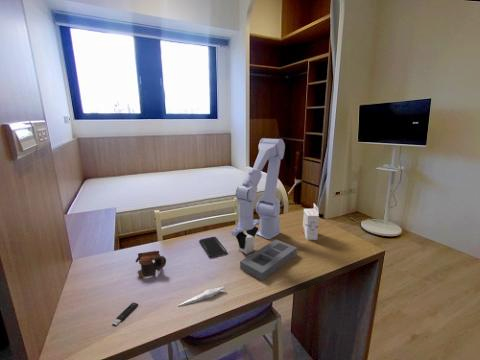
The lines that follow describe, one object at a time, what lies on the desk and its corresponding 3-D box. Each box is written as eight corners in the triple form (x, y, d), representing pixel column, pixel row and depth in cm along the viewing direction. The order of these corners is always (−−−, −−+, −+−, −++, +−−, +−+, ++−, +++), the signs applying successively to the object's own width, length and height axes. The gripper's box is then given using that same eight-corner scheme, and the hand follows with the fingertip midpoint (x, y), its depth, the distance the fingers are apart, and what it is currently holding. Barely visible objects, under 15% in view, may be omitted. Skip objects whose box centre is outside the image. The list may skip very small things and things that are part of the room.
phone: (215, 236, 111) (227, 252, 97) (215, 238, 111) (227, 254, 98) (198, 239, 107) (208, 256, 94) (198, 242, 108) (209, 259, 94)
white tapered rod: (223, 287, 78) (222, 282, 78) (226, 293, 76) (226, 288, 75) (176, 305, 72) (175, 300, 71) (178, 312, 70) (177, 306, 69)
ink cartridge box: (301, 231, 116) (303, 202, 112) (312, 231, 116) (314, 202, 112) (306, 240, 108) (308, 209, 104) (317, 240, 108) (320, 208, 104)
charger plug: (245, 246, 103) (245, 233, 102) (253, 249, 100) (253, 236, 99) (238, 250, 100) (238, 236, 99) (246, 254, 97) (246, 240, 96)
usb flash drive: (117, 327, 64) (116, 324, 64) (111, 325, 65) (111, 322, 64) (138, 306, 71) (138, 303, 71) (133, 304, 72) (132, 301, 72)
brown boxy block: (129, 279, 83) (129, 254, 86) (147, 275, 92) (147, 252, 94) (159, 275, 80) (158, 249, 83) (175, 271, 89) (174, 248, 91)
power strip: (275, 245, 103) (276, 239, 102) (296, 254, 96) (296, 247, 96) (240, 268, 88) (240, 261, 87) (261, 280, 81) (262, 272, 80)
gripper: (250, 207, 104) (250, 236, 107) (225, 217, 94) (226, 249, 97) (263, 211, 99) (263, 241, 103) (239, 222, 89) (239, 255, 92)
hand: (246, 245), depth 100 cm, fingers closed on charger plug, 4 cm apart
